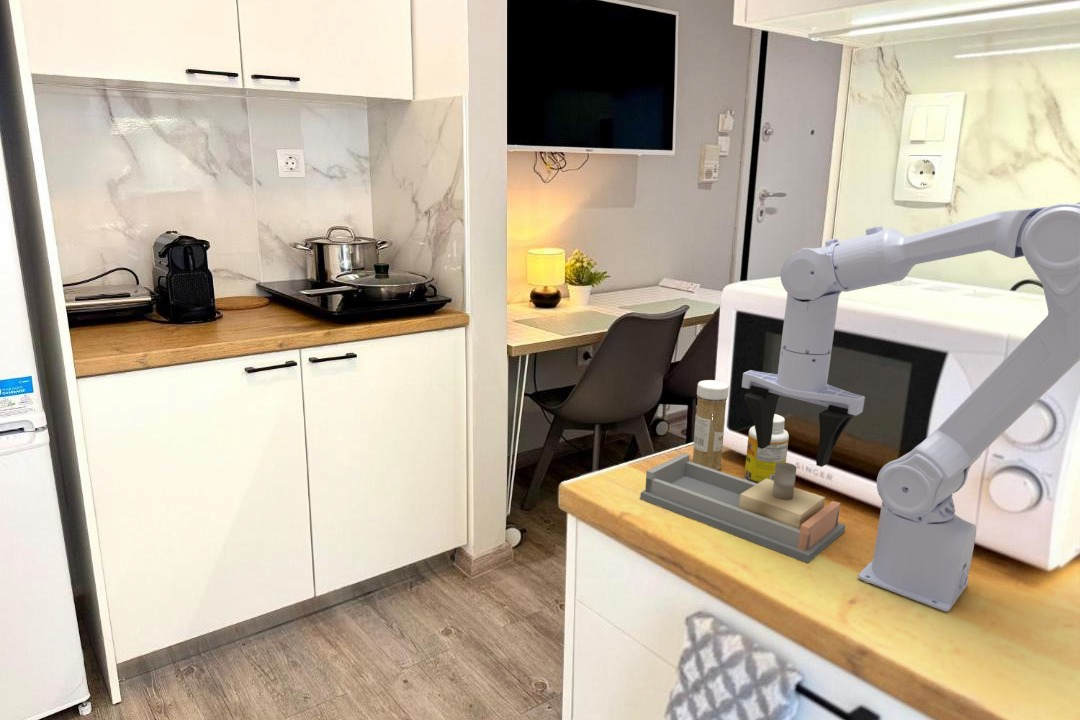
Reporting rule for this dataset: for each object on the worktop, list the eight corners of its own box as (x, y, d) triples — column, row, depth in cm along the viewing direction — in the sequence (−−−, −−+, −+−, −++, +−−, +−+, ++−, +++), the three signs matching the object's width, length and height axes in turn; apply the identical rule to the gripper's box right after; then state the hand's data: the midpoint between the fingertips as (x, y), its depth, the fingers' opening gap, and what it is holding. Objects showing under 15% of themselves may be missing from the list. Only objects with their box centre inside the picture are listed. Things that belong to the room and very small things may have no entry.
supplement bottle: (747, 472, 114) (754, 408, 112) (785, 479, 112) (793, 414, 109) (740, 486, 109) (747, 419, 107) (780, 494, 107) (788, 426, 104)
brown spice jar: (725, 472, 114) (733, 387, 110) (696, 473, 113) (703, 388, 110) (714, 461, 118) (722, 378, 115) (686, 461, 118) (693, 379, 114)
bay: (844, 531, 97) (848, 503, 96) (807, 563, 89) (811, 532, 88) (683, 476, 112) (685, 451, 111) (640, 498, 104) (642, 472, 103)
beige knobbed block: (821, 523, 96) (828, 467, 94) (797, 542, 91) (804, 484, 89) (763, 503, 102) (769, 450, 100) (737, 520, 97) (743, 464, 95)
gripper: (880, 355, 88) (863, 463, 92) (765, 332, 98) (754, 431, 101) (857, 366, 83) (840, 479, 87) (738, 341, 93) (727, 444, 96)
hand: (792, 454), depth 94 cm, fingers open, 7 cm apart
